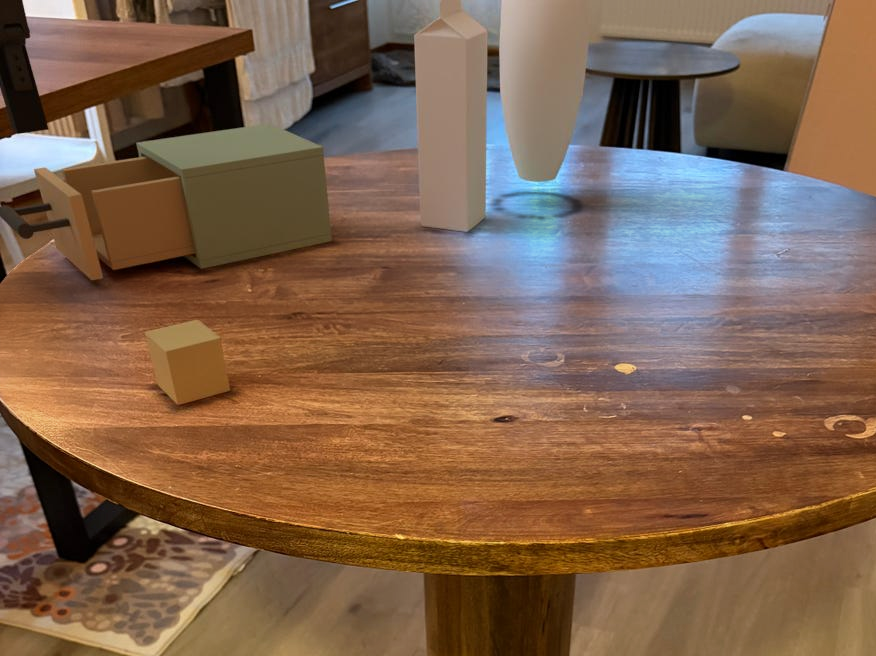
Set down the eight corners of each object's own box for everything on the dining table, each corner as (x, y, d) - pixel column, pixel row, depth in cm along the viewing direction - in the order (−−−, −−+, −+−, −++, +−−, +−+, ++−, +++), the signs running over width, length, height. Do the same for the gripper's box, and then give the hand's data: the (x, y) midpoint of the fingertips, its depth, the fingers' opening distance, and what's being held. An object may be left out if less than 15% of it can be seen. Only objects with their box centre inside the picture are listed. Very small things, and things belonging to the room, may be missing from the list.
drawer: (41, 291, 88) (14, 205, 83) (8, 257, 95) (-18, 176, 90) (227, 252, 97) (214, 172, 92) (185, 224, 104) (171, 148, 99)
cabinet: (201, 269, 96) (182, 169, 89) (156, 236, 103) (135, 142, 97) (332, 241, 103) (323, 146, 96) (281, 212, 110) (269, 123, 104)
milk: (485, 218, 109) (490, -6, 95) (467, 233, 105) (468, 1, 91) (439, 211, 111) (436, -10, 96) (418, 226, 107) (412, -3, 92)
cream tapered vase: (533, 185, 120) (542, -16, 106) (595, 202, 114) (613, -8, 100) (477, 201, 114) (479, -9, 100) (539, 220, 109) (550, 1, 94)
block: (177, 405, 73) (165, 351, 70) (157, 384, 75) (144, 331, 73) (230, 390, 75) (220, 337, 72) (208, 371, 77) (197, 318, 75)
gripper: (4, -234, 65) (97, 138, 80) (-43, -226, 72) (49, 111, 88) (-111, -238, 61) (9, 151, 77) (-148, -229, 69) (-32, 122, 85)
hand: (30, 129), depth 82 cm, fingers closed
